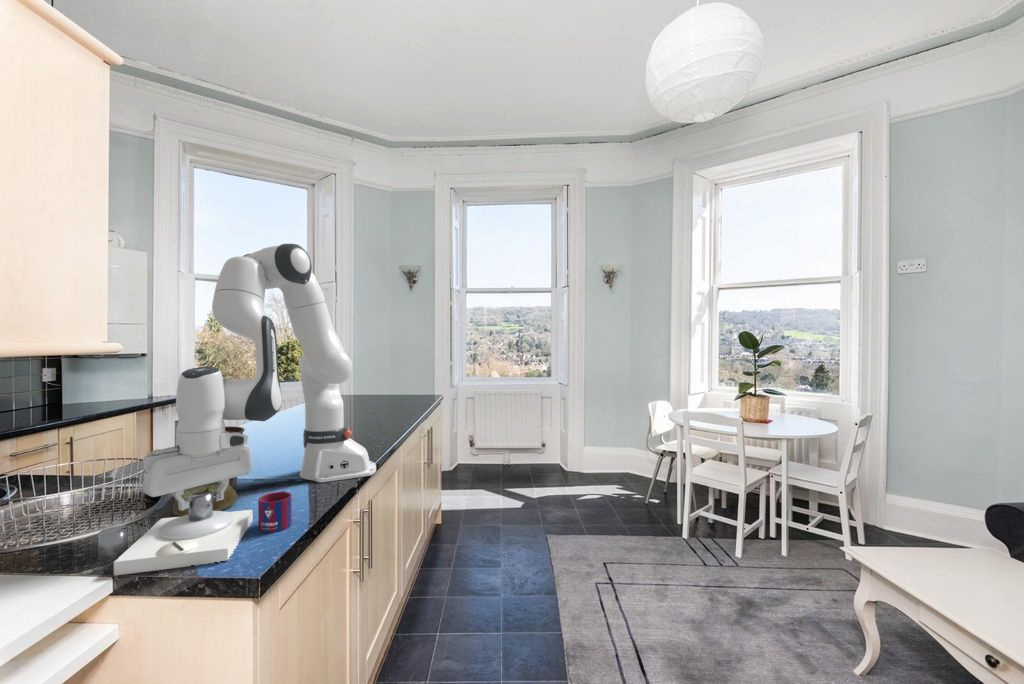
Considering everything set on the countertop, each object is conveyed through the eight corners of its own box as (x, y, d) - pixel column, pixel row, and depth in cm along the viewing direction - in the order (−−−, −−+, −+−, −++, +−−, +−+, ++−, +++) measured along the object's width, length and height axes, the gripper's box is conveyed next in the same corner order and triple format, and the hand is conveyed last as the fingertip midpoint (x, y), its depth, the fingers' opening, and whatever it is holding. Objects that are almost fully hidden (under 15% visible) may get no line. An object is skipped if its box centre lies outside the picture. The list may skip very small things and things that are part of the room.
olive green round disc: (200, 522, 106) (200, 501, 106) (158, 515, 110) (158, 494, 110) (249, 501, 119) (249, 482, 119) (210, 496, 123) (210, 477, 123)
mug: (252, 533, 100) (252, 502, 100) (273, 515, 110) (273, 487, 110) (284, 532, 100) (284, 502, 100) (302, 514, 110) (302, 486, 110)
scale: (252, 520, 107) (252, 506, 107) (226, 562, 87) (226, 545, 87) (161, 529, 101) (161, 514, 101) (112, 577, 82) (112, 558, 82)
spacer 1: (132, 549, 92) (132, 524, 92) (121, 559, 88) (120, 533, 88) (105, 552, 91) (105, 527, 91) (93, 562, 87) (92, 536, 87)
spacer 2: (216, 516, 101) (216, 493, 101) (193, 523, 97) (193, 499, 97) (207, 511, 103) (207, 489, 103) (185, 518, 100) (184, 495, 100)
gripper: (148, 454, 89) (149, 524, 90) (255, 435, 106) (256, 494, 107) (137, 449, 93) (137, 516, 93) (242, 431, 110) (242, 488, 110)
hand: (201, 504), depth 100 cm, fingers open, 5 cm apart
